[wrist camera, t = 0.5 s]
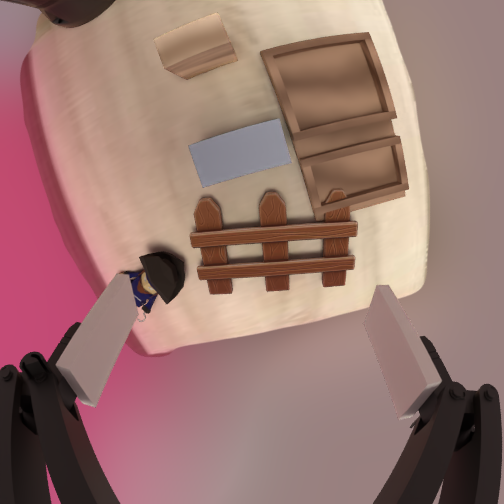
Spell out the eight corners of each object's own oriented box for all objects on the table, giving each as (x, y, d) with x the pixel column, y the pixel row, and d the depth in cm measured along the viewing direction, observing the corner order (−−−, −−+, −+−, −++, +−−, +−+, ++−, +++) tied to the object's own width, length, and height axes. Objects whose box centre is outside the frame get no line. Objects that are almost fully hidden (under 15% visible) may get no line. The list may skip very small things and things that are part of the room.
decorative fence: (349, 280, 41) (355, 187, 35) (352, 287, 40) (359, 191, 33) (204, 290, 43) (186, 200, 36) (202, 297, 42) (182, 203, 35)
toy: (105, 282, 42) (144, 245, 34) (131, 269, 48) (175, 233, 40) (132, 328, 43) (179, 306, 35) (156, 311, 48) (206, 286, 40)
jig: (260, 53, 28) (260, 47, 25) (359, 35, 25) (367, 28, 22) (315, 218, 38) (319, 227, 35) (401, 193, 35) (411, 200, 33)
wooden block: (177, 55, 28) (153, 39, 20) (227, 36, 27) (217, 12, 19) (186, 79, 29) (164, 68, 21) (237, 60, 28) (230, 41, 20)
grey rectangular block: (201, 140, 33) (188, 145, 27) (275, 119, 32) (279, 118, 26) (213, 175, 36) (202, 187, 29) (285, 155, 34) (291, 162, 28)
